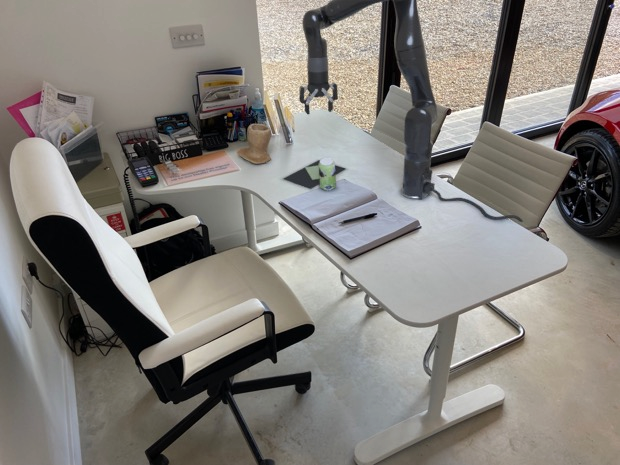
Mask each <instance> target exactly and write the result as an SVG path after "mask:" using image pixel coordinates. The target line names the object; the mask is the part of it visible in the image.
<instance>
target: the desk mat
mask: <svg viewBox="0 0 620 465" xmlns="http://www.w3.org/2000/svg"><path fill="white" fill-rule="evenodd" d="M320 160H321V159H320ZM320 160H316V161H314V162H312V163H310V164H309V165H307V166H305V167H303V168H301V169H299V170H297V171H295V172H293V173H291V174H289V175H288V176H285V177H283V181H287V182H290V183H293V184H296V185H298V186H301V187H304V188H307V189H309V190H311V189H313V188H315V187H317V186H319V185H320V179H319V166H318V165H319V162H320ZM344 171H346V167H343V166H340V165H337V164H335V176H337V175H338V174H339V173H342V172H344Z"/></svg>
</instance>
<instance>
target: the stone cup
mask: <svg viewBox="0 0 620 465" xmlns="http://www.w3.org/2000/svg"><path fill="white" fill-rule="evenodd" d="M246 131H247V132H246V137H247V142H248V146H247V147H243V148H239V149H238V150H237V151H236V154H237V156H240V158H243V159H244V160H246V161H248V162H249V163H252V164H255V165H259V164H264V163H267V162H269V161H271V159H272V158H271V156H270V155H269V154H268V148H269V144H270V142H271V138H272V129H271V128H270V127H269V126H268V125H265V124H263V123H251V124H250V125H249V126H248V127H247V130H246Z"/></svg>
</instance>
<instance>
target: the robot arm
mask: <svg viewBox="0 0 620 465" xmlns="http://www.w3.org/2000/svg"><path fill="white" fill-rule="evenodd" d="M387 1H389V0H330V1H328V2H327V3H326V4H325V5H323V6H320V7H317V8H313V9H309V10H307V11H306V12H305V13H304V14H303V17H302V21H301V22H302V28H303V29H302V30H303V34H304V38H305V41H306V44H307V46H306V47H307V64H306V70H307V86H303V85H300V86H299V98H298V100H299V102H300V103H301V105H302V104H303V105H304V112H305V114H306V115H310V103H311V102H312V100H313V99H314V98H324V97H325V98H326V99H327V100H328V101H327V112H328V113H331V112H332V111H333V110H334V101H337V100H338V99H339V95H338V94H339V93H338V92H339V91H338V84H337V83H335V82H332V83H330V82H329V58H328V42H327V39H326V38H324V37H322V33H321V31H322V30H325V29H327V28H329V27H331V26H333V25H335V24H336V23H340V22H341V21H344V20H346V19H348V18H350V17H352V16H354V15H356V14H358V13H359V12H360V11H362V10H364V9H366V8H368V7H370V6H372V5H375V4H378V3H383V2H387ZM392 3H393V6H394V12H395V20H396V21H395V30H394V31H395V32H394V40H393V42H394V45H393V46H394V52H395V58H396V63H397V66H398V69H399V71H400V74H401V75H402V77H403V79H404V80H405V82H406V83H407V86H408V88H409V92H410V99H411V107H410V109H408V111H407V112H406V114H405V117H404V126H403V142H404V157H403V169H402V170H403V172H402V174H403V175H402V182H401V195H402V196H404V197H405V198H407V199H412V200H424V199H425V198H426V197H427V196H429V195H430V194H431V193H435V194H436V195H437V197H438V199H439V200H440V201H442V202H457V201H461V202H465V203H468V204H470V205H472V206H474V207H475V208H477V209H478V210H479V211H480V212H481V213H482V214H483V216H485V217H486V218H488V219H491V220H494V221H495V220H497V221H499V220H506V219H514V220H517V221H518V222H520V223H523V222H524V221H523V219H522V218H521V217H519V216H517V215H514V214H507V215H502V216H494V215H490V214H489V213H487V212H486V211H485V209H484V208H483V207H482V206H481V205H479V204H477V203H476V202H474V201H472V200H470V199H469V198H464V197H452V198H444V197H442V194H441V193H440V192H439V191H438V190H437V189H435V183H433V182H432V178H433V177H432V176H433V170H432V169H431V163H432V156H433V155H432V154H433V147H434V146H433V145H434V144H433V141H432V140H431V138H432V137H431V136H432V127H433V126H434V125H435V124H436V122H437V120H438V118H439V111H438V110H439V109H438V106H437V103H436V99H435V95H434V93H433V92H434V91H433V89H432V85H431V79H430V78H431V77H430V72H429V65H428V59H427V51H426V46H425V41H424V36H423V32H422V26H421V25H422V24H421V21H420V16H419V9H418V0H392ZM329 89H330V90H332V96H331V94H329V92H328V91H329ZM307 91H308V93H307V95H306V98H305V93H306V92H307Z"/></svg>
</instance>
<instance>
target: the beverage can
mask: <svg viewBox="0 0 620 465" xmlns="http://www.w3.org/2000/svg"><path fill="white" fill-rule="evenodd" d="M335 165H336V163H335V161H334V159H333V158H331V157H323V158H320V162H319V165H318V166H319V179H320V184H319V187H320V189H322V190H324V191H331V190H333V189H335V188H336V186H337V177H336V176H337V175H335Z"/></svg>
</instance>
